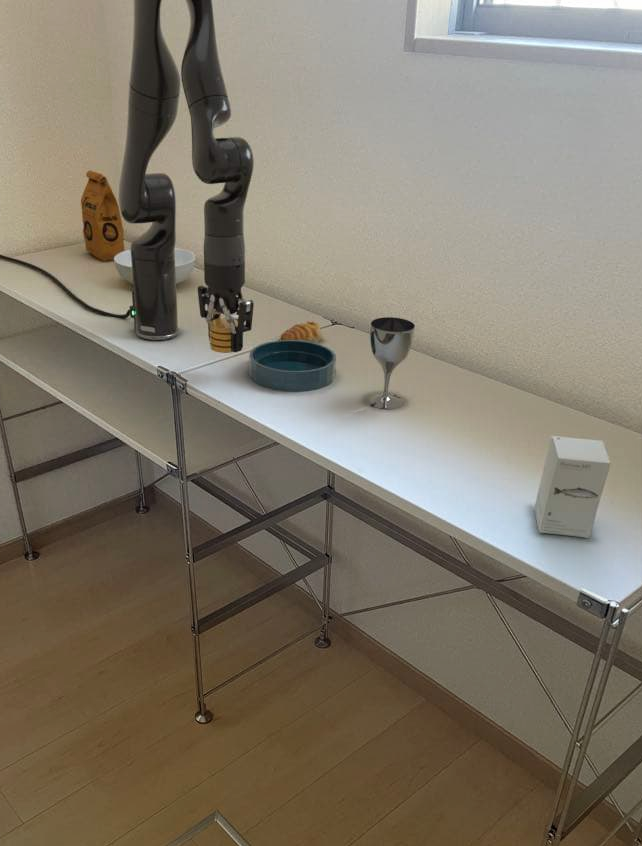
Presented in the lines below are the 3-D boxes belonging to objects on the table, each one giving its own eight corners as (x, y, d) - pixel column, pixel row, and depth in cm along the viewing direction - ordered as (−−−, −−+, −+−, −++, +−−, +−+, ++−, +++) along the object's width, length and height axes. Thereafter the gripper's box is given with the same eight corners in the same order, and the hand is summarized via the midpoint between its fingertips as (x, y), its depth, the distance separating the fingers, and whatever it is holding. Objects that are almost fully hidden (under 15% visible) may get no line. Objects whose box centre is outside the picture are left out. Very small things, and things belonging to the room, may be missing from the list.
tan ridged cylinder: (203, 348, 161) (203, 322, 158) (227, 341, 164) (227, 315, 161) (223, 357, 157) (223, 330, 154) (247, 349, 161) (247, 323, 158)
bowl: (231, 374, 167) (231, 353, 164) (293, 354, 177) (294, 334, 174) (290, 401, 157) (291, 379, 154) (352, 378, 166) (353, 357, 164)
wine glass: (378, 412, 153) (386, 334, 145) (356, 396, 159) (362, 320, 151) (413, 405, 156) (423, 328, 148) (390, 389, 162) (398, 315, 154)
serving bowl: (154, 267, 229) (152, 241, 225) (212, 281, 219) (211, 255, 215) (98, 284, 214) (96, 257, 211) (158, 301, 204) (157, 273, 201)
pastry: (292, 350, 179) (293, 333, 176) (273, 341, 183) (273, 325, 181) (325, 341, 184) (325, 325, 181) (305, 333, 188) (305, 316, 186)
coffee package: (96, 263, 230) (88, 178, 218) (82, 252, 239) (73, 170, 227) (130, 259, 234) (124, 176, 222) (114, 248, 243) (108, 168, 231)
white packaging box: (537, 534, 120) (556, 457, 113) (533, 508, 126) (550, 433, 119) (590, 540, 119) (612, 462, 112) (583, 513, 125) (603, 438, 118)
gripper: (184, 253, 153) (187, 340, 163) (234, 270, 145) (234, 361, 154) (215, 246, 158) (217, 332, 167) (265, 263, 149) (264, 352, 158)
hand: (225, 346), depth 160 cm, fingers closed on tan ridged cylinder, 6 cm apart
